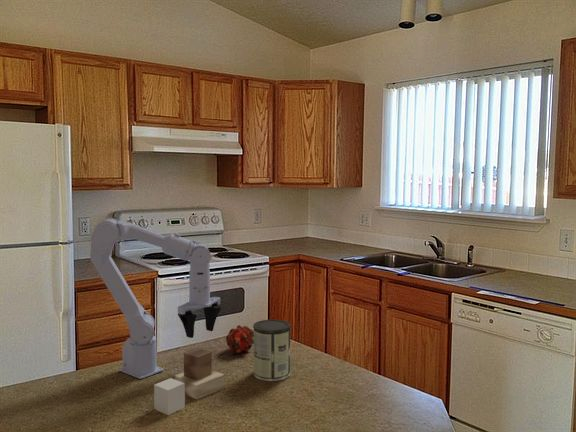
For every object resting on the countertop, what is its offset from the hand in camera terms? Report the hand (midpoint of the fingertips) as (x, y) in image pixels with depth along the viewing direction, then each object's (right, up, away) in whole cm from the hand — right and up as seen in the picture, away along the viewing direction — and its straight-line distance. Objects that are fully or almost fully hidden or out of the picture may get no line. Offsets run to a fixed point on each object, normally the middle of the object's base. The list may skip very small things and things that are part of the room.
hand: (199, 333), depth 147 cm
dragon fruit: (+10, -9, +14) cm, 20 cm away
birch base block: (+2, -12, -13) cm, 18 cm away
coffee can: (+21, -11, -3) cm, 23 cm away
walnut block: (+2, -8, -14) cm, 16 cm away
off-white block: (-3, -12, -24) cm, 27 cm away
